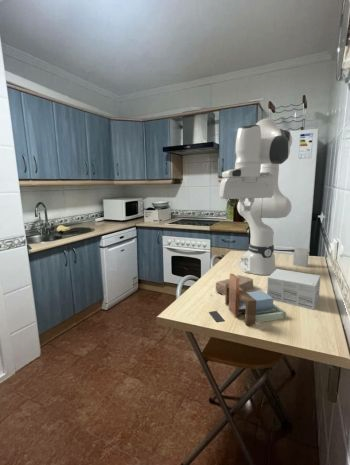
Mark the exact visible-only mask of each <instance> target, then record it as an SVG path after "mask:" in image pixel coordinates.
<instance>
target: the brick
mask: <svg viewBox="0 0 350 465" xmlns="http://www.w3.org/2000/svg"><path fill="white" fill-rule="evenodd" d="M236 276H237V277H238V278H240V280H239V287H240V288H241V289H242V290H244V291H245V292H246V291H249V290H250V289H252V288H253V287H254V279H253V278H251V277H249V276H246V275H241V274H238V275H236ZM229 279H230V278H227V279H224V280H219V281H217V282H215V291H216V292H217V293H219V294H221V295H224V296H225V292H226V283H229Z"/></svg>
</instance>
